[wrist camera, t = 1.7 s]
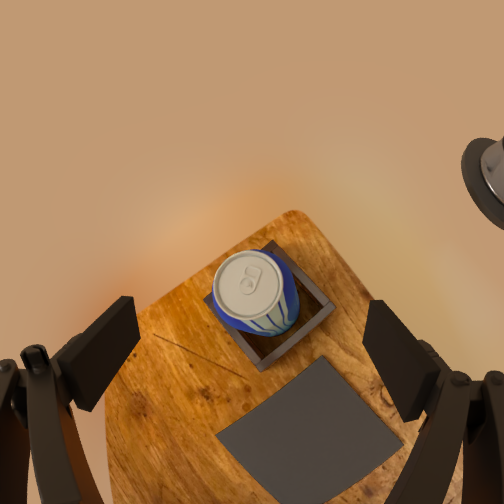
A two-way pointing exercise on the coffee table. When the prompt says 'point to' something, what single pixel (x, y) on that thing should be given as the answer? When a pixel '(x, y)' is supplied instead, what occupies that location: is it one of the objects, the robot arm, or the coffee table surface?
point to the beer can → (256, 293)
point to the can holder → (326, 310)
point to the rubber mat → (310, 438)
